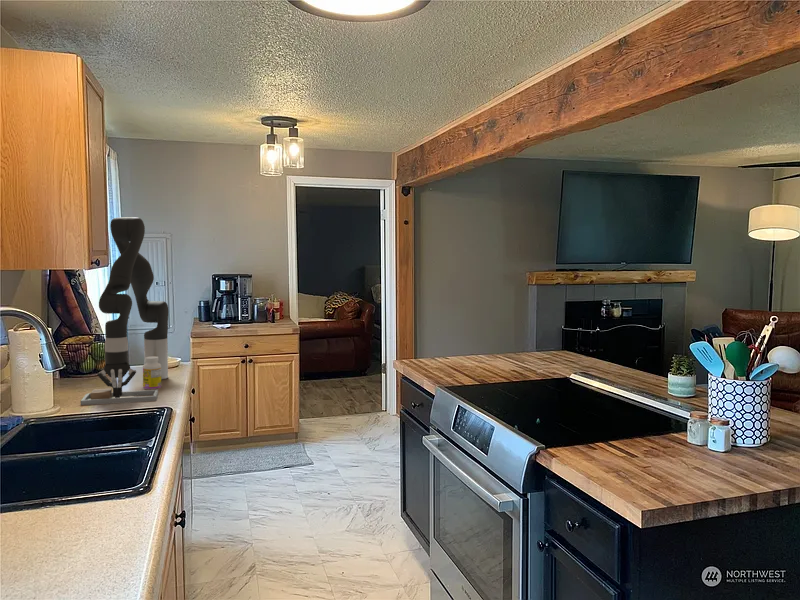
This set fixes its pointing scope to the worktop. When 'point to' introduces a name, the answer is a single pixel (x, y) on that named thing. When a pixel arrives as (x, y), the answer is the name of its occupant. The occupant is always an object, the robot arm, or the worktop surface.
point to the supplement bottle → (151, 373)
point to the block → (101, 393)
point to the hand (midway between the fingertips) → (117, 397)
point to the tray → (122, 397)
